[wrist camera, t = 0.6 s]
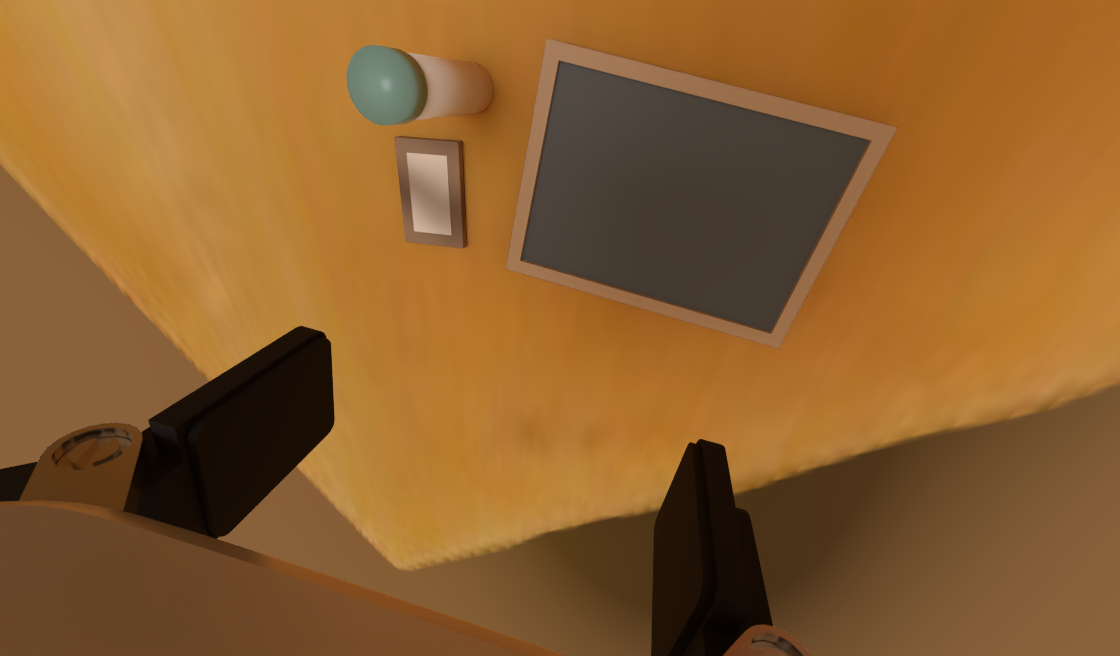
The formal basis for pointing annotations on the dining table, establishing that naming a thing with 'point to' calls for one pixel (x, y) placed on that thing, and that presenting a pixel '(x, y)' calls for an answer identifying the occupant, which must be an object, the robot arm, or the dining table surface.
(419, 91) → the cylinder
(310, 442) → the robot arm
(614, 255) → the slate
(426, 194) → the picture frame
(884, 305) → the dining table surface
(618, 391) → the dining table surface
